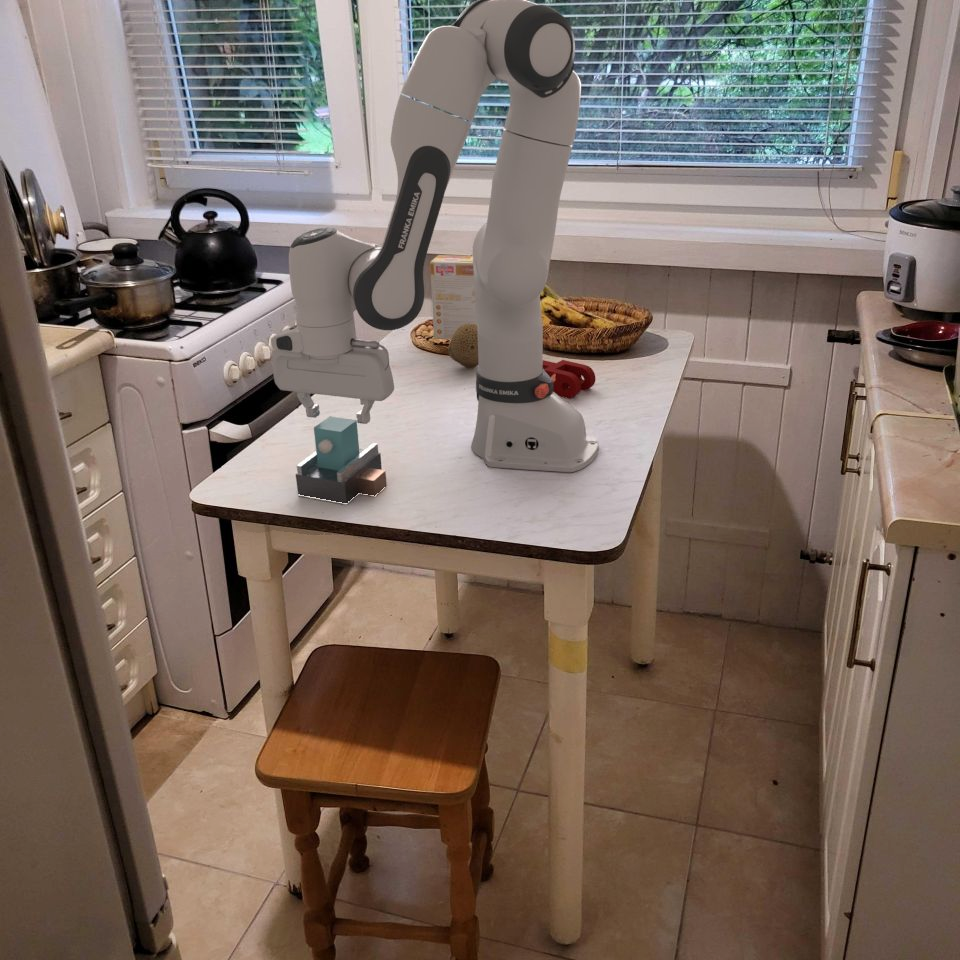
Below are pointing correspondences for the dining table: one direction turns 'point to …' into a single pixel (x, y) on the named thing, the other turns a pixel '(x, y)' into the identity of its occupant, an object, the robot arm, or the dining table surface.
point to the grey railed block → (342, 477)
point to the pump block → (336, 442)
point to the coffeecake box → (452, 294)
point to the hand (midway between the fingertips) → (338, 419)
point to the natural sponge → (465, 345)
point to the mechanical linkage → (569, 377)
